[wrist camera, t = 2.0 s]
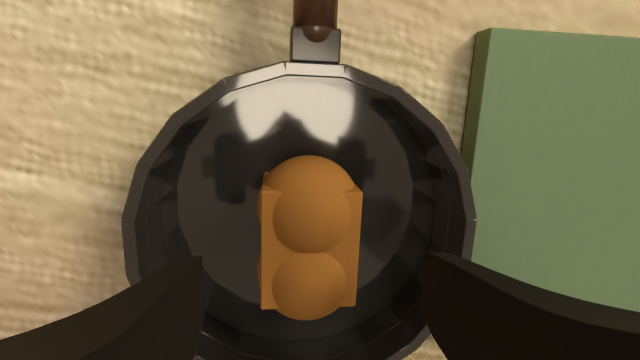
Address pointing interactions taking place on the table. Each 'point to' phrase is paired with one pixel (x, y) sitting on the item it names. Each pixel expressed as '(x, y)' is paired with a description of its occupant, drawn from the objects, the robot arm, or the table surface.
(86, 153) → the table surface
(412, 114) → the pan
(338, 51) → the pan handle
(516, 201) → the cutting board
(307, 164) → the orange double sphere block
